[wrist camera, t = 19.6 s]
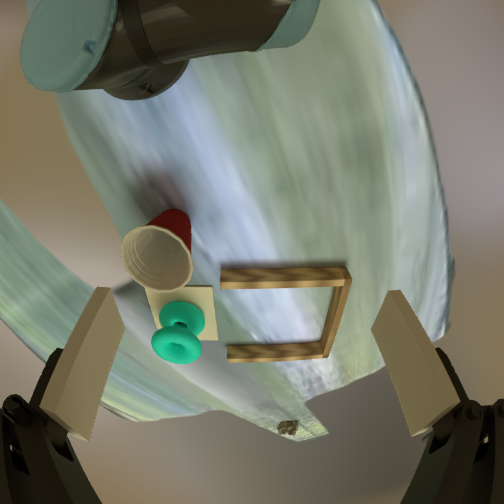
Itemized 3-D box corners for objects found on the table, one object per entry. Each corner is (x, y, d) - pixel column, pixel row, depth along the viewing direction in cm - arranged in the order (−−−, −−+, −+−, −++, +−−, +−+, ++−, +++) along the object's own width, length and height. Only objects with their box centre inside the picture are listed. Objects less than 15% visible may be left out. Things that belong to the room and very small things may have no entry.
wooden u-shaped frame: (227, 349, 63) (227, 362, 59) (221, 268, 50) (219, 282, 47) (324, 345, 63) (327, 357, 60) (345, 266, 51) (352, 279, 47)
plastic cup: (142, 192, 42) (113, 224, 31) (205, 196, 43) (193, 230, 32) (146, 248, 47) (124, 290, 37) (203, 253, 48) (194, 297, 38)
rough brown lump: (293, 428, 96) (294, 436, 92) (275, 429, 95) (276, 437, 91) (299, 419, 90) (300, 428, 86) (280, 420, 89) (281, 429, 86)
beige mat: (160, 336, 60) (160, 338, 60) (144, 285, 52) (144, 286, 51) (218, 339, 61) (218, 340, 60) (212, 285, 52) (212, 287, 52)
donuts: (140, 347, 47) (171, 327, 44) (151, 312, 55) (181, 290, 52) (178, 371, 51) (212, 355, 48) (184, 336, 59) (215, 318, 56)
